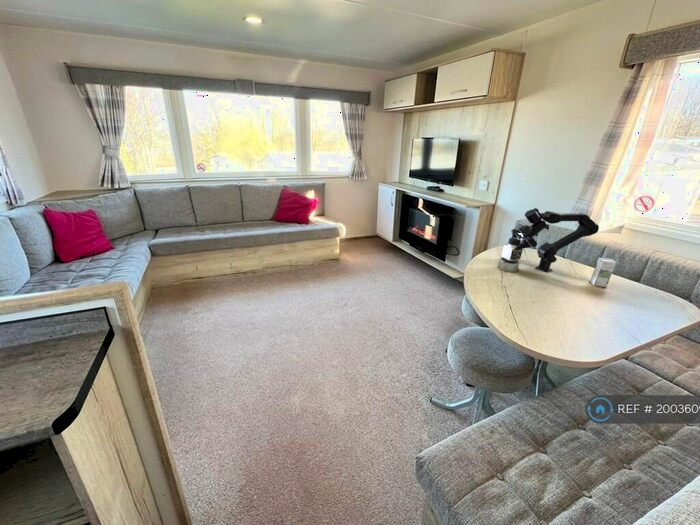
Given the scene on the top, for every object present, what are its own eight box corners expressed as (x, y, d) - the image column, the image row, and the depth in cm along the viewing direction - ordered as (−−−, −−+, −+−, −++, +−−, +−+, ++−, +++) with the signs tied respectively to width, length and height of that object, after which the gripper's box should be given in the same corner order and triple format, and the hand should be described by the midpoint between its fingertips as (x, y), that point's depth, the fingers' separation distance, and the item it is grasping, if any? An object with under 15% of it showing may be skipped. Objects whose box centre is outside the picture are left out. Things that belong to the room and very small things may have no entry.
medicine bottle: (509, 261, 175) (514, 240, 171) (501, 256, 182) (505, 236, 177) (520, 260, 177) (525, 240, 173) (511, 255, 183) (516, 236, 179)
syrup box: (602, 283, 167) (611, 258, 162) (606, 287, 162) (616, 262, 157) (589, 281, 169) (598, 256, 164) (593, 285, 164) (603, 260, 158)
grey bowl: (504, 263, 188) (506, 255, 186) (521, 269, 181) (523, 261, 179) (494, 267, 183) (496, 258, 181) (511, 273, 175) (513, 264, 173)
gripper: (518, 214, 179) (495, 232, 183) (537, 223, 162) (511, 243, 166) (528, 228, 183) (505, 245, 186) (547, 238, 165) (522, 257, 169)
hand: (510, 247), depth 177 cm, fingers closed on medicine bottle, 8 cm apart
